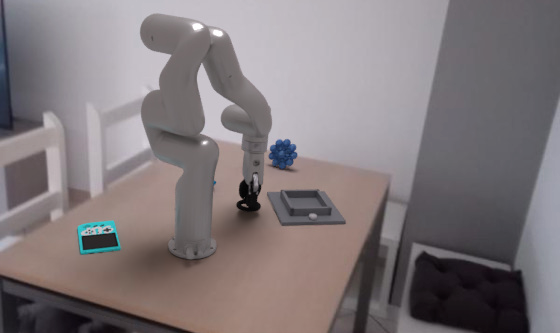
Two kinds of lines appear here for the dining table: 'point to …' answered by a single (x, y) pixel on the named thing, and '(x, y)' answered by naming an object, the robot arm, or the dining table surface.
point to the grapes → (283, 153)
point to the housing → (304, 207)
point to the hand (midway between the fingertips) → (249, 200)
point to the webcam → (243, 194)
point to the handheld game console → (98, 237)
